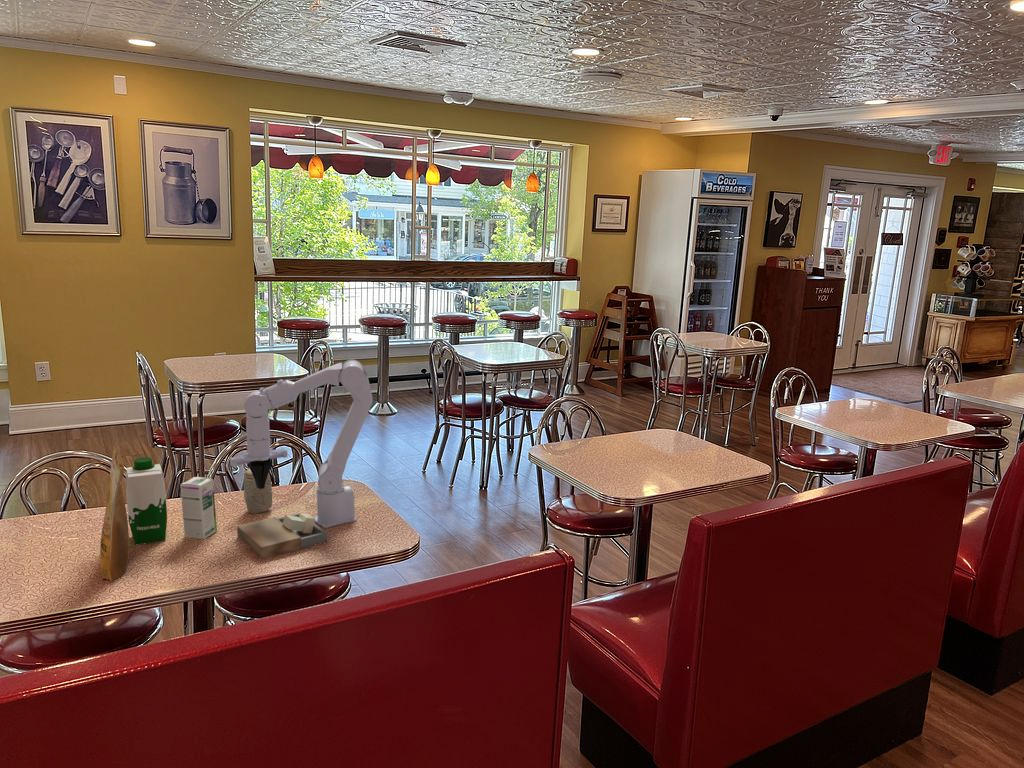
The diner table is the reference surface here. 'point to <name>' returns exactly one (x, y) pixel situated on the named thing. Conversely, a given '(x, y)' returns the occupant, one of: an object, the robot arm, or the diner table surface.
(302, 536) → the box
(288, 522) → the tile
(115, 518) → the pancake mix bag
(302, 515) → the tile
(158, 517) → the milk carton
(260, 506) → the carving
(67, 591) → the diner table surface
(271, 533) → the board
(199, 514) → the syrup box
